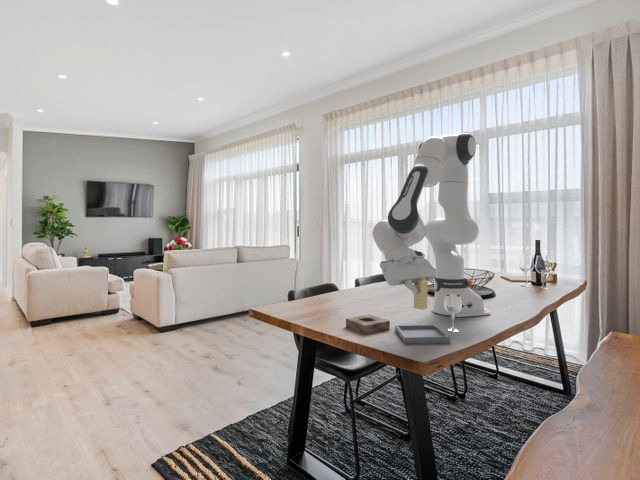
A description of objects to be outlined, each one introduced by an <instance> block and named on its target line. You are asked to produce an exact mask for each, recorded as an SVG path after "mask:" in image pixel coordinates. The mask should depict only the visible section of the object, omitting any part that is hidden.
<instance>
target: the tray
mask: <svg viewBox="0 0 640 480" xmlns="http://www.w3.org/2000/svg"><path fill="white" fill-rule="evenodd" d="M394 328H395V329H394V331H395V333H396V334H397V336H398V337H399V338H400V340H401V341H402V343H403V344H404V345H423V344H424V345H430V344H434V345H436V344H435V343H441V344H451V337H450V335H448V334H447V333H446V331H444V330H442V329H441V328H440V327H439V326H438V325H437V324H395V326H394ZM429 343H430V344H429Z"/></svg>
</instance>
